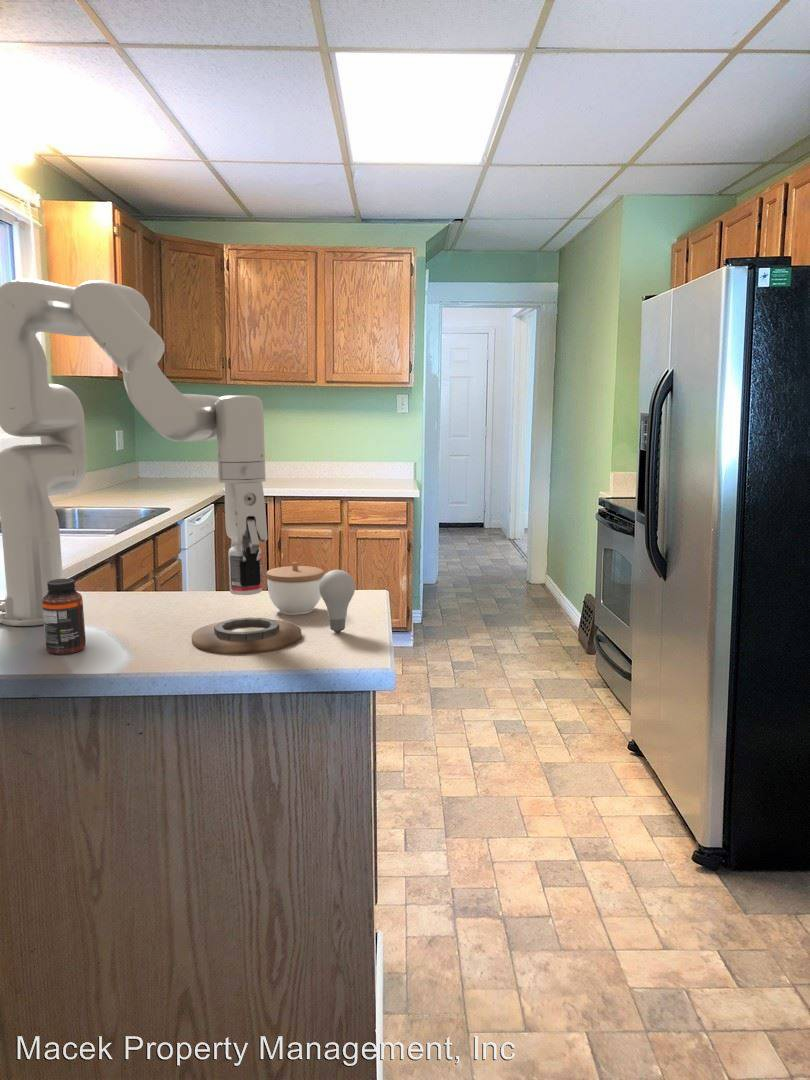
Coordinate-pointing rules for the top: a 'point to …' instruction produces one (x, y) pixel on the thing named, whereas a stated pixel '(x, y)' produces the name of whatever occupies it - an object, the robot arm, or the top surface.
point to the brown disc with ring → (246, 636)
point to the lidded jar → (294, 588)
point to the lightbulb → (337, 596)
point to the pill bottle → (234, 572)
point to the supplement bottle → (63, 618)
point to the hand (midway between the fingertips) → (245, 580)
